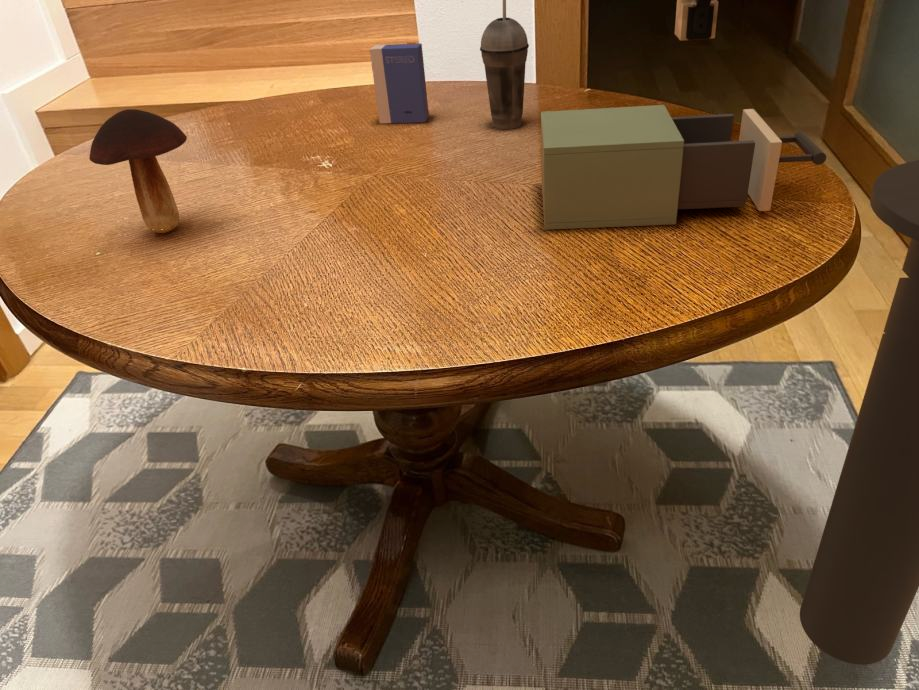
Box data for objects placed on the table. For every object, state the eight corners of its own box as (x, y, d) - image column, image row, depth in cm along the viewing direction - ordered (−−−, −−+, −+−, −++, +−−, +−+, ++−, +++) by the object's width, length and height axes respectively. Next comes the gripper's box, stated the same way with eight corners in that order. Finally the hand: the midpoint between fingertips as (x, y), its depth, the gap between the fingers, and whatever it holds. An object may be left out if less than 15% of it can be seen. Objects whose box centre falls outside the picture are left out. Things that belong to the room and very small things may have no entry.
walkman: (429, 117, 121) (421, 40, 114) (425, 122, 119) (417, 45, 112) (383, 118, 123) (373, 42, 116) (379, 123, 120) (368, 46, 114)
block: (674, 33, 102) (677, -2, 99) (707, 31, 101) (711, -5, 99) (680, 40, 98) (683, 4, 95) (714, 38, 97) (718, 1, 95)
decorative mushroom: (106, 253, 87) (57, 128, 79) (141, 214, 96) (101, 99, 88) (195, 248, 86) (156, 121, 78) (222, 209, 95) (190, 92, 87)
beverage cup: (478, 131, 113) (469, -11, 102) (491, 116, 119) (484, -20, 108) (524, 132, 111) (520, -12, 100) (535, 117, 117) (532, -21, 105)
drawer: (792, 170, 89) (804, 105, 85) (824, 208, 80) (839, 138, 76) (632, 177, 91) (636, 115, 87) (645, 216, 82) (650, 148, 78)
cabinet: (658, 181, 92) (664, 104, 87) (676, 224, 82) (684, 140, 76) (541, 186, 93) (540, 111, 88) (544, 230, 83) (543, 147, 78)
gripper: (758, -126, 82) (737, 46, 92) (724, -129, 96) (710, 20, 106) (689, -119, 83) (676, 50, 93) (665, -124, 97) (657, 24, 107)
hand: (694, 33), depth 99 cm, fingers closed on block, 4 cm apart
